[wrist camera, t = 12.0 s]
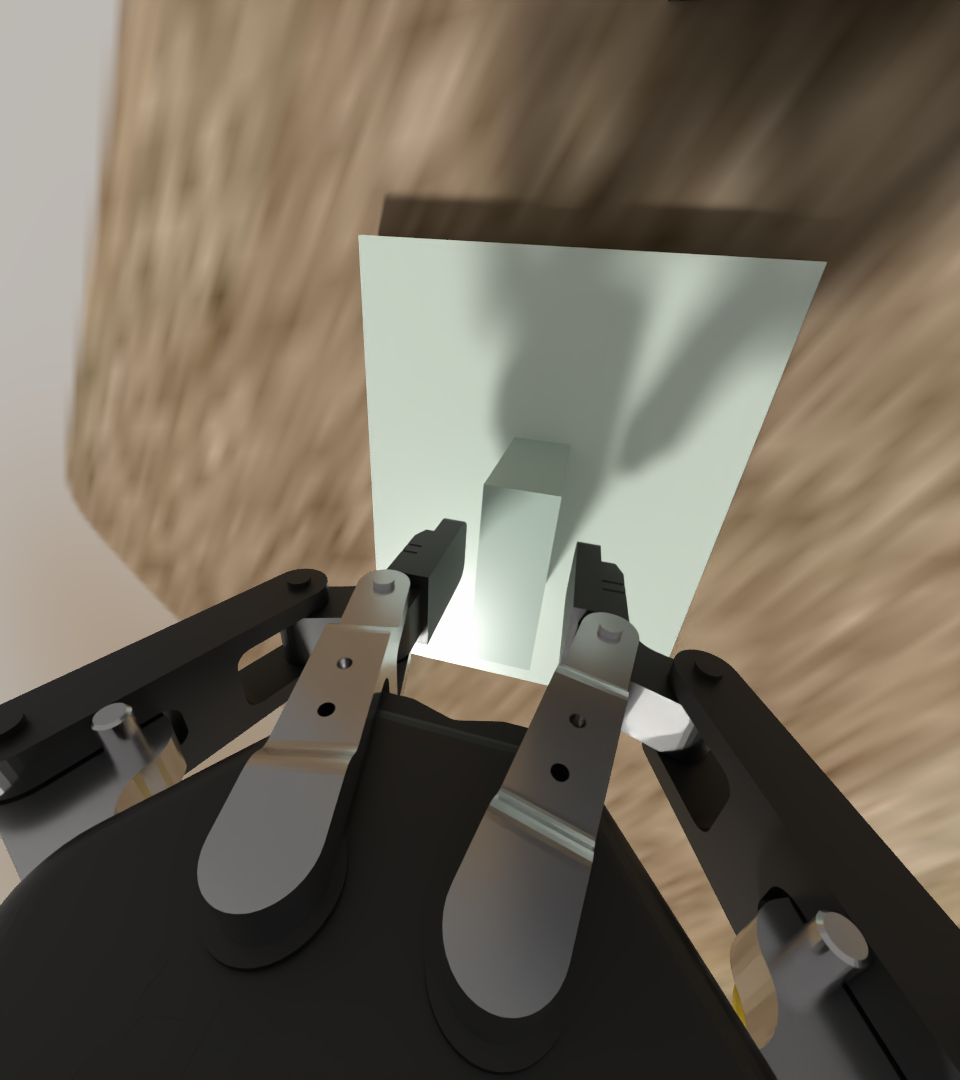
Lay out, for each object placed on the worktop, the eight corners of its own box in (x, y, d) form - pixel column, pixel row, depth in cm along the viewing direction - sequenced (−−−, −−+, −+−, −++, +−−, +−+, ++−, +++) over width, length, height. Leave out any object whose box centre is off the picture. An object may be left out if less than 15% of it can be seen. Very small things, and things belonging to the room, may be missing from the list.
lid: (800, 268, 12) (980, 223, 7) (644, 683, 21) (664, 820, 15) (380, 243, 15) (245, 192, 9) (393, 626, 23) (327, 727, 17)
